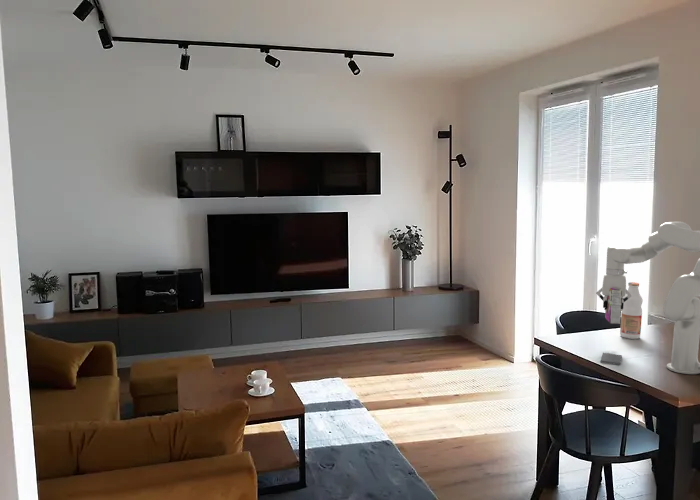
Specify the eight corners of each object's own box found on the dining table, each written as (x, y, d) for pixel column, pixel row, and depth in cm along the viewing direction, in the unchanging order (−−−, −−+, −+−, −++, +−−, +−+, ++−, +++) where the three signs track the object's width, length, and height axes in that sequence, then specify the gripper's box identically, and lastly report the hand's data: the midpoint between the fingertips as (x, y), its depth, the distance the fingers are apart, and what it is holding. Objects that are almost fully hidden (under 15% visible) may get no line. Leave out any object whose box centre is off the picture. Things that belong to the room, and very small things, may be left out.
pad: (621, 357, 263) (622, 355, 263) (620, 365, 252) (620, 363, 252) (602, 354, 267) (602, 352, 267) (600, 362, 256) (600, 360, 255)
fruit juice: (615, 334, 303) (619, 281, 299) (631, 333, 305) (635, 281, 301) (628, 339, 293) (632, 284, 290) (644, 338, 296) (648, 284, 292)
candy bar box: (604, 318, 283) (605, 285, 281) (615, 319, 282) (617, 285, 280) (609, 323, 272) (611, 289, 270) (620, 324, 271) (622, 289, 269)
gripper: (635, 272, 274) (633, 310, 276) (595, 270, 282) (594, 307, 283) (634, 274, 267) (632, 313, 269) (594, 272, 275) (592, 309, 277)
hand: (613, 309), depth 276 cm, fingers closed on candy bar box, 6 cm apart
